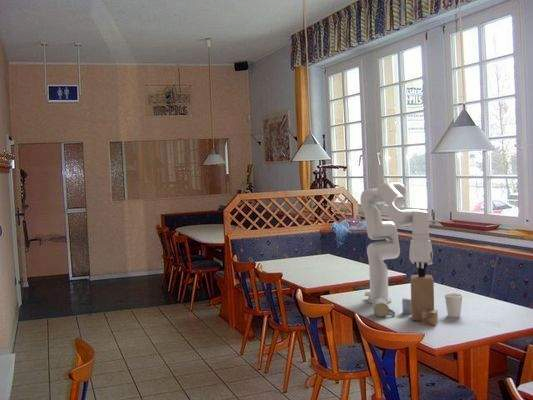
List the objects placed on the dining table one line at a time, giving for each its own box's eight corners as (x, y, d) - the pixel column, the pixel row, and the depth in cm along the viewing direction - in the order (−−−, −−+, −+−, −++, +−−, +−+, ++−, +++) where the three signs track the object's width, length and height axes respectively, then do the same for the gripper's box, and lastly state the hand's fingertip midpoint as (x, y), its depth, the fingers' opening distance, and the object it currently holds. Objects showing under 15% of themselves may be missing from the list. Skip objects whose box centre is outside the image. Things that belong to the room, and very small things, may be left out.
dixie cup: (441, 315, 287) (440, 294, 286) (455, 312, 290) (454, 292, 289) (453, 319, 279) (452, 297, 278) (467, 316, 282) (466, 295, 282)
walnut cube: (421, 325, 271) (421, 312, 270) (424, 321, 276) (423, 309, 276) (435, 326, 268) (435, 313, 268) (437, 322, 274) (437, 309, 273)
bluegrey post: (400, 313, 293) (400, 299, 292) (406, 311, 296) (405, 297, 296) (409, 315, 289) (409, 300, 289) (415, 312, 293) (414, 298, 292)
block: (434, 321, 275) (433, 278, 274) (412, 321, 277) (411, 278, 276) (433, 316, 285) (432, 274, 284) (411, 315, 287) (410, 274, 286)
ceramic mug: (374, 317, 286) (374, 302, 286) (371, 313, 295) (371, 298, 294) (396, 317, 286) (396, 301, 285) (393, 313, 294) (393, 297, 294)
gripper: (402, 237, 282) (403, 276, 283) (431, 239, 271) (432, 279, 272) (410, 235, 287) (411, 273, 288) (439, 237, 277) (440, 276, 278)
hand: (421, 276), depth 280 cm, fingers closed
